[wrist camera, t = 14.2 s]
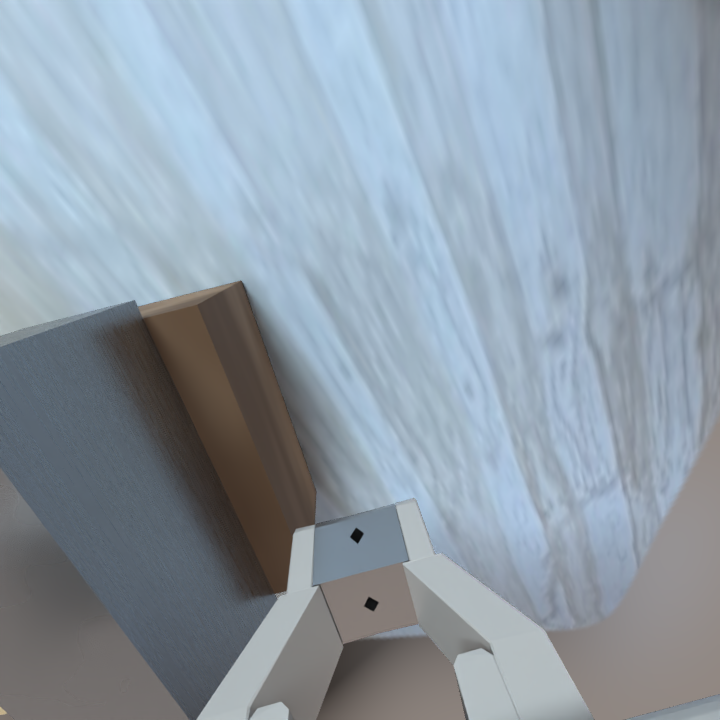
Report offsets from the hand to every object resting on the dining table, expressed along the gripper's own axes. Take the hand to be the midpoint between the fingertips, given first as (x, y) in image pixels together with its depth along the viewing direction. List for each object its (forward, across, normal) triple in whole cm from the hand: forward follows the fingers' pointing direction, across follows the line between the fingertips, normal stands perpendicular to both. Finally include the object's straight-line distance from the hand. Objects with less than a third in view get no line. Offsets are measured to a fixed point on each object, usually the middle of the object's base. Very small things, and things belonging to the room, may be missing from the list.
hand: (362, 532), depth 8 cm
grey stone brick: (+3, +6, 0) cm, 7 cm away
